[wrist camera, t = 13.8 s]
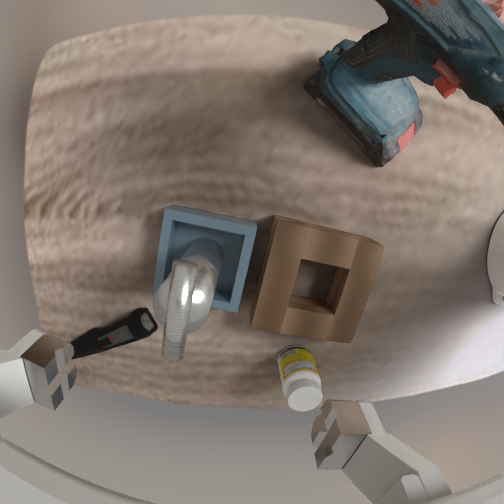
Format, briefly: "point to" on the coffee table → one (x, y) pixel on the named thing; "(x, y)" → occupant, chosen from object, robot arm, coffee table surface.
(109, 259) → the coffee table surface
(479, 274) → the coffee table surface
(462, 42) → the power drill
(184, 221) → the blue square tray
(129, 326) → the electric trimmer
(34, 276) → the coffee table surface
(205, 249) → the silver elongated piece
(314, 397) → the supplement bottle
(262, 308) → the square wooden frame
